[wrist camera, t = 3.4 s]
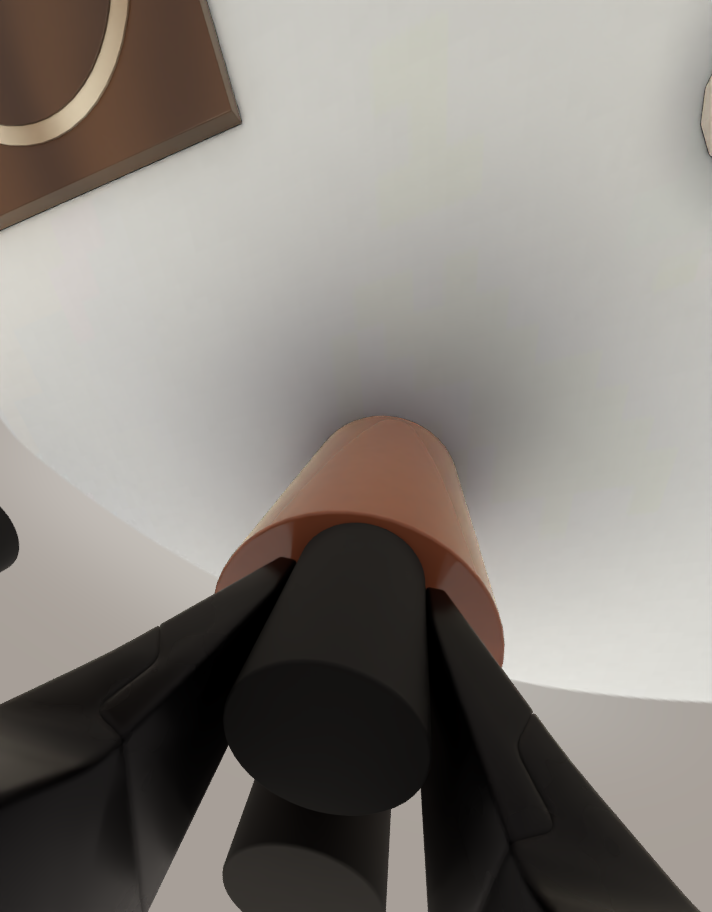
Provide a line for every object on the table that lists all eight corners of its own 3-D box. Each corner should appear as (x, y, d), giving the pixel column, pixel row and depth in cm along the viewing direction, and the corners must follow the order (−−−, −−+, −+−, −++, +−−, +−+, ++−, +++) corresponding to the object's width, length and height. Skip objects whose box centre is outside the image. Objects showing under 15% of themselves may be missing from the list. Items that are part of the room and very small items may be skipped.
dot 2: (284, 728, 12) (220, 919, 8) (291, 648, 10) (221, 825, 7) (386, 754, 11) (372, 965, 7) (404, 675, 10) (398, 875, 6)
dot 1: (294, 616, 10) (220, 786, 6) (303, 510, 9) (222, 638, 5) (412, 642, 10) (410, 839, 6) (437, 535, 9) (453, 692, 5)
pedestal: (306, 536, 22) (210, 713, 12) (318, 404, 20) (211, 484, 9) (441, 563, 21) (465, 778, 11) (473, 429, 19) (545, 547, 8)
